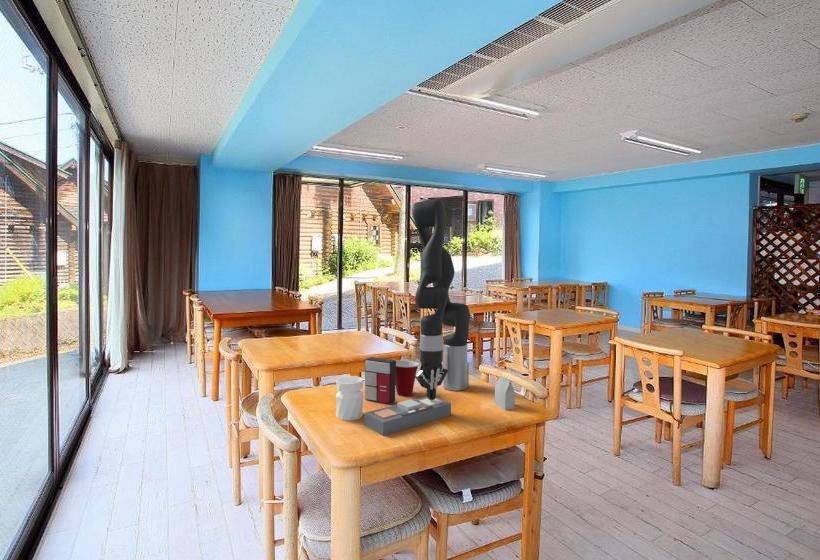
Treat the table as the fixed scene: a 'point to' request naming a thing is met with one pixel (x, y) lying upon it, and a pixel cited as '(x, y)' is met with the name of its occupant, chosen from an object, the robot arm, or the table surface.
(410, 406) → the grey key
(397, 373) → the plastic cup
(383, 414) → the terracotta key
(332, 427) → the table surface
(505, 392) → the pale grey block
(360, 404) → the vase
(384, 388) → the red and grey box
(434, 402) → the cream key
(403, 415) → the keypad housing
